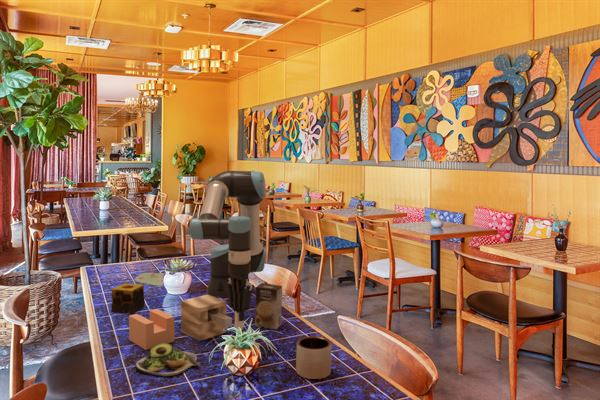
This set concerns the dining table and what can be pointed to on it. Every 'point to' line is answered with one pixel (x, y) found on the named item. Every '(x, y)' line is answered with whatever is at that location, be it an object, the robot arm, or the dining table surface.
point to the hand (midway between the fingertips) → (239, 329)
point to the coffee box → (268, 306)
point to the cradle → (151, 329)
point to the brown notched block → (201, 316)
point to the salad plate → (166, 360)
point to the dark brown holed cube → (127, 298)
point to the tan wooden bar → (219, 319)
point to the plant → (151, 277)
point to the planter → (313, 357)
